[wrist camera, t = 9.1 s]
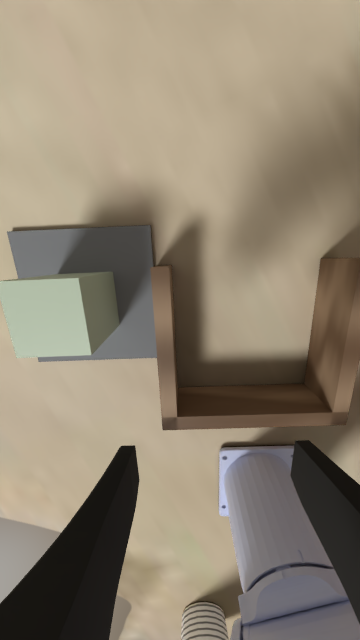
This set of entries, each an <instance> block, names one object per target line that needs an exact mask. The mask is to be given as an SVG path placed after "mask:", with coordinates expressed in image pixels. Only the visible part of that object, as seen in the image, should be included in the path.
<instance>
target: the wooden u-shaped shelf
mask: <svg viewBox="0 0 360 640" xmlns="http://www.w3.org/2000/svg"><path fill="white" fill-rule="evenodd" d="M150 271H151V284H152V297H153V310H154V323H155V336H156V349H157V362H158V375H159V388H160V400H161V413H162V426H163V430H187V429H221V428H256V427H291V426H325V425H346V422H347V418H348V413H349V408H350V403H351V398H352V393H353V389H354V384H355V379H356V374H357V369H358V364H359V360H360V258H324V259H321V262H320V269H319V277H318V284H317V292H316V299H315V307H314V314H313V322H312V329H311V337H310V344H309V351H308V359H307V366H306V374H305V381H304V383H302V384H271V385H240V386H209V387H178V378H177V358H176V338H175V318H174V298H173V278H172V265H159V266H154V267H150Z"/></svg>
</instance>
